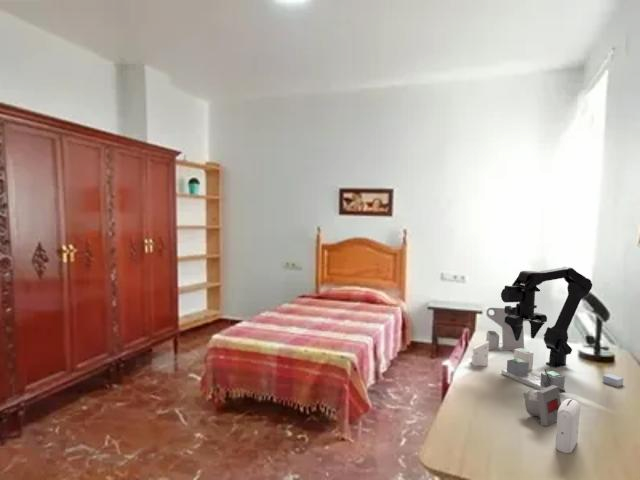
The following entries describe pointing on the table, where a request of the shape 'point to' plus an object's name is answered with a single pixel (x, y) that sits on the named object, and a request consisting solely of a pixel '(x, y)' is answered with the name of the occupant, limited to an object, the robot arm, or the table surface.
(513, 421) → the table surface
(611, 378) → the relay block
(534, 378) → the rail
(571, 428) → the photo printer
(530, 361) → the block
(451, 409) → the table surface
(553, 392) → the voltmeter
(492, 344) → the grey bracket with hole
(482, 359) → the white angled block
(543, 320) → the robot arm
